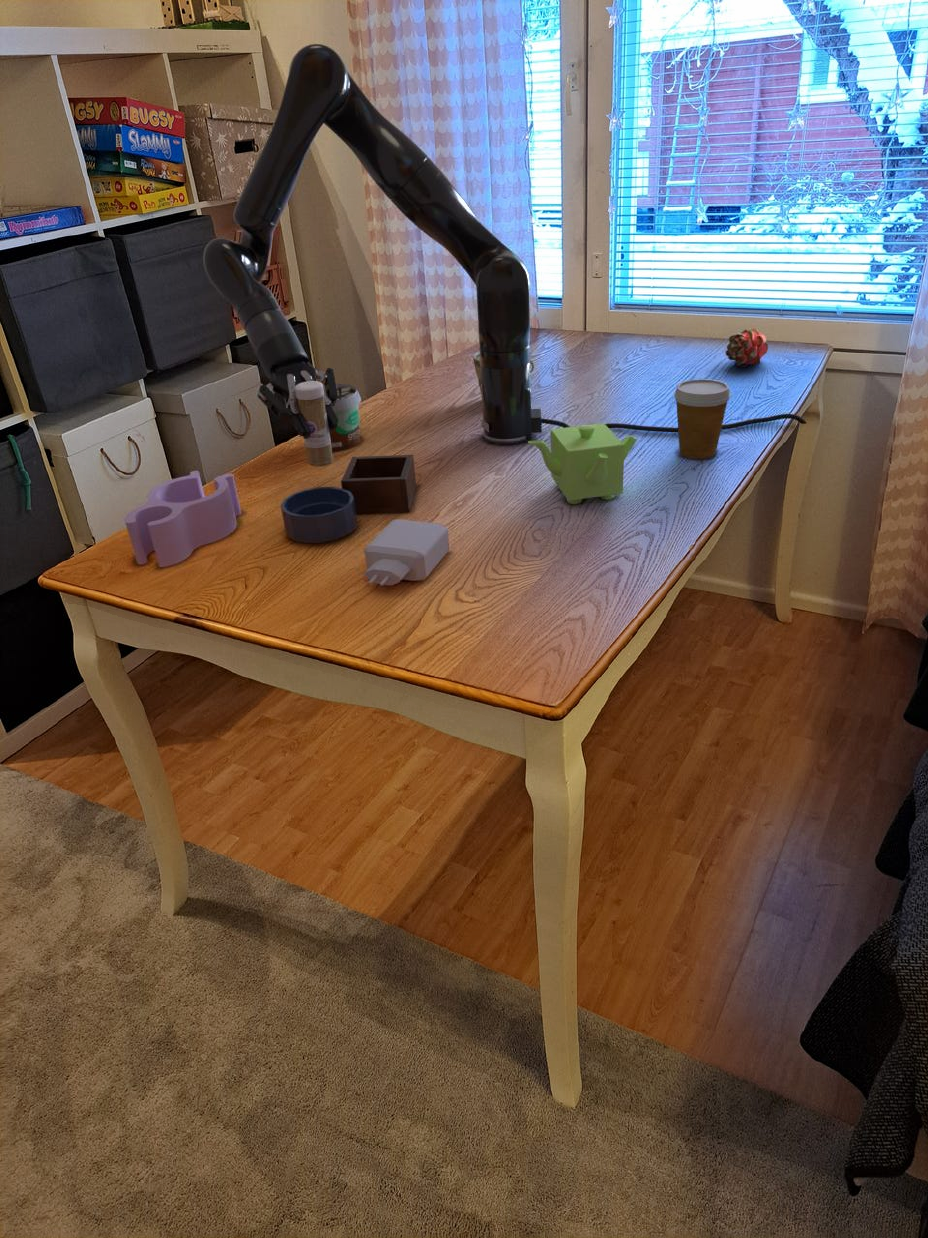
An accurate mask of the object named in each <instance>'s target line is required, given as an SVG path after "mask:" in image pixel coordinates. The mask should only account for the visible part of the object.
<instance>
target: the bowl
mask: <svg viewBox="0 0 928 1238" xmlns="http://www.w3.org/2000/svg"><path fill="white" fill-rule="evenodd" d="M280 510H281V511H280V512H281V516H282V521H283V527H284V532H285V534H286V536H287V537H288V538H289V539H291V540H293V541H295V542H300V543H307V544H322V543H328V542H333V541H336V540H339V539H341V538H343V537H346V536H348V535H349V534H350V533H351V532H353V531H355V529H356V527H357V524H358V516H357V515H358V514H356V508H355V501H354V497H353V495H352V493H351V492H350V491H347V490H345V489H343V488H342V487H337V486H316V487H311V488H305V489H302V490H299V491H296V492H294V493H291V494H290V495H289V496H287V497H285V498H284V499H283V500H282V502H281V504H280Z"/></svg>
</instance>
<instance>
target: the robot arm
mask: <svg viewBox="0 0 928 1238" xmlns="http://www.w3.org/2000/svg"><path fill="white" fill-rule="evenodd" d="M323 125H325V126H326V127H327V128H328V129H329V130H331V131H332V132H333V134H335V135H336V136H337V137H338V138H339V139H340V140H341V141H343V142H344V144H345V145H346V146H347V147H348V148H349V149H350V150H351V152H352V153H353V154H354V155H355V157H356V158H357V159H358V161H359V162H360V164H361V165H362V166H363V168H364V169H365V171H366V172H367V173H368V175H369V177H370V178H371V179H372V180H373V181H374V182H375V184H376V185H377V186H378V188H379V189H380V190H381V191H382V192H383V194H384V195H385V196H386V197H387V199H388V200H390V202H391V203H392V204H393V205H394V206H395V207H396V208H397V209H398V210H399V211H400V212H401V213H402V214H403V215H404V216H405V217H406V219H408V220H409V221H410V222H411V223H412V224H413V225H415V227H417V228H418V230H420V231H422V232H423V233H424V234H425V235H426V236H428V237H429V238H431V239H432V240H433V241H435V242H436V243H437V244H439V245H440V246H441V247H442V248H444V249H445V250H446V251H448V253H449V254H451V256H452V257H453V258H454V259H455V260H456V261H457V262H458V264H459V265H460V267H462V269H463V270H464V271H465V272H466V274H467V275H468V277H469V278H470V279H471V281H472V282H473V283H474V285H475V288H476V305H477V306H476V307H477V323H478V324H477V328H478V349H479V351H478V352H480V370H481V389H482V395H481V403H482V405H481V406H482V407H481V408H482V419H480V422H481V423H480V425H481V428H482V430H483V439H484V440H485V442H488V443H491V444H496V445H514V444H515V445H516V444H520V443H525V442H529V441H533V434H537V433H538V434H539V433H543V425H542V424H546V425H552V426H557V427H560V428H566V427H572V426H571V425H569V424H568V423H566V422H563V421H561V420H555V419H550V418H544V417H542V415H543V414H542V408H532V406H533V405H532V383H531V381H532V380H531V373H530V371H531V363H530V360H531V348H530V346H531V345H530V343H531V341H530V337H531V336H530V335H531V286H530V276H529V273H528V270H527V267H526V265H525V264H524V262H523V260H522V259H521V257H519V255H517V254H516V252H514V251H513V250H511V248H509V247H508V246H507V245H505V244H504V243H503V242H502V241H501V240H500V239H499V238H498V237H496V236H495V234H493V232H491V231H490V230H489V229H487V227H486V226H485V225H484V224H483V223H482V222H481V221H480V220H479V219H478V218H477V217H476V215H475V214H474V212H473V211H472V209H471V208H470V207H469V205H468V204H467V202H466V201H465V199H464V198H463V197H462V195H461V194H460V192H459V191H458V190H457V189H456V187H455V186H454V185H453V183H451V181H450V180H449V179H448V177H447V176H446V175H445V173H443V171H442V170H441V169H440V168H439V166H438V165H437V164H436V163H435V162H434V161H433V160H432V159H431V158H430V157H429V156H428V154H427V153H425V151H423V150H422V148H420V146H418V144H417V143H415V142H414V141H413V140H412V139H411V138H410V137H409V136H408V135H407V134H406V133H404V132H403V131H402V130H401V129H399V128H398V127H397V126H396V125H394V124H393V123H392V122H391V121H389V120H388V119H387V118H386V117H385V116H384V115H383V114H382V113H380V112H379V110H378V109H377V108H376V107H375V105H374V104H373V103H372V102H371V101H370V100H369V98H368V97H367V95H365V93H364V92H363V91H362V89H361V88H360V87H359V85H358V84H357V82H356V81H355V80H354V78H353V77H352V76H351V74H350V73H349V71H348V70H347V68H346V65H345V63H344V61H343V59H342V57H341V56H340V55H339V54H338V53H337V52H336V51H335V50H334V49H333V48H332V47H329V46H328V45H325V44H321V43H311V44H307V45H305V46H303V47H302V48H300V49H299V50H298V51H297V52H296V53H295V54H294V56H293V57H292V59H291V62H290V64H289V68H288V76H287V79H286V84H285V88H284V91H283V96H282V99H281V101H280V105H279V108H278V111H277V114H276V117H275V119H274V122H273V125H272V126H271V130H270V132H269V135H268V137H267V139H266V142H265V144H264V146H263V148H262V150H261V152H260V153H259V156H258V158H257V160H256V162H255V163H254V166H253V168H252V169H251V172H250V174H249V176H248V178H247V180H246V182H245V185H244V186H243V189H242V191H241V194H240V195H239V198H238V200H237V203H235V204H236V205H235V206H234V209H233V213H232V219H233V220H234V222H235V224H236V225H237V226H238V227H239V228H241V229H242V230H241V235H240V240H239V242H236V241H235V240H232V239H229V238H226V237H216V238H212V240H210V241H208V243H207V244H206V245H205V248H204V250H203V254H202V255H203V256H202V260H203V261H202V262H203V268H204V270H205V273H206V275H207V277H208V279H209V281H210V283H211V284H212V285H213V286H214V287H215V289H216V290H217V291H218V293H219V294H220V295H221V296H222V298H223V299H224V300H225V301H226V303H227V304H228V305H229V306H230V307H231V308H232V309H233V311H234V313H235V314H236V316H237V318H238V320H239V322H240V324H241V327H242V328H243V330H244V333H245V334H246V337H247V339H248V342H249V345H250V347H251V349H252V352H253V353H254V355H255V356H256V359H257V360H258V363H259V364H260V366H261V368H262V369H263V372H264V374H265V375H266V378H267V379H268V383H267V384H261V385H259V389H258V392H257V398H258V399H259V400H260V401H261V402H262V404H264V406H266V408H267V409H268V410H269V411H270V412H271V413H272V415H274V417H276V419H277V420H279V421H285V420H289V421H290V422H292V425H293V426H294V428H295V430H296V432H297V434H298V435H299V437H301V438H302V437H303V440H304V439H307V438H309V437H310V435H311V431H310V429H309V427H308V425H307V423H306V421H305V419H304V417H303V415H302V413H300V409H299V403H298V400H297V398H296V393H295V386H296V385H298V384H300V383H303V382H308V381H317V380H319V382H321V383H322V384H323V387H324V392H325V393H324V403H325V409H326V413H327V420H328V426H329V429H330V431H335V430H336V428H337V424H338V418H337V416H336V415H335V412H334V410H333V409H332V407H333V406H334V405H335V403H336V400H337V399H338V392H337V383H336V377H335V372H334V369H332V368H331V367H328V368H326V370H317V369H316V368H315V366H313V365H312V364H311V362H310V360H309V357H308V355H307V353H306V351H305V349H304V348H303V345H302V344H301V342H300V340H299V337H298V336H297V334H296V332H295V331H294V329H293V326H292V325H291V323H290V322H289V320H288V319H287V318H286V316H285V315H284V313H283V310H282V309H281V307H280V305H279V303H278V302H277V300H276V297H275V296H274V294H273V293H272V291H271V290H270V289H269V288H268V287H267V286H265V285H264V284H263V283H261V281H262V279H263V278H264V277H265V274H266V270H267V267H268V263H269V258H270V253H271V248H272V243H273V236H274V232H275V230H276V228H277V226H278V224H279V222H280V220H281V217H282V215H283V213H284V211H285V209H286V207H287V205H288V203H289V201H290V198H291V195H292V193H293V191H294V188H295V185H296V183H297V180H298V177H299V174H300V171H301V169H302V166H303V164H304V161H305V159H306V156H307V153H308V152H309V150H310V147H311V145H312V144H313V141H314V139H315V138H316V137H317V135H318V132H319V131H320V130H321V128H322V126H323ZM275 393H277V394H278V395H279V396H281V397H283V398H284V403H285V405H284V403H282V401H281V400H280V399H279V398H278V397H277V396H276V395H275ZM786 419H787V420H789V419H790V420H794V421H797V422H798V423H799V424H802V425H806V424H807V421H806V420H805V419H804V418H803V417H801V416H800V415H797V414H794V413H780V414H775V415H771V416H765V417H764V416H763V417H757V418H750V419H745V420H741V421H737V422H733V423H723V424H722V428H721V431H725V430H730V429H736V428H740V427H745V426H750V425H754V424H760V423H761V424H762V423H768V422H774V421H778V420H786ZM604 424H605V425H606V426H607V427H608V428H609V429H626V430H634V431H642V432H643V431H644V432H657V433H658V432H660V433H677V434H678V427H674V426H673V427H672V426H671V427H668V426H654V425H653V426H652V425H651V426H650V425H641V424H631V423H620V422H619V423H617V422H609V423H608V422H607V423H604Z"/></svg>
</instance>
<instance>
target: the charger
mask: <svg viewBox="0 0 928 1238" xmlns="http://www.w3.org/2000/svg"><path fill="white" fill-rule="evenodd" d="M363 551H364V556H365V558H364V559H365V565H366V571H364V573H363V576H364V577H365V578H366V579H367V580H369V581H368V583H367V584H369V585H372V584H373V583H374V584H378V585H380V587H383V586H384V585H385V586H393V585H396V584H399V583H400V582H401V581H402V580H405V581H413V582H416V581H417V582H419V581H424V580H426V578H427V577H428V576H429V575H430V574H431V573H432V571H434V569H435V568H436V566H438V564H439V563H440V562H441V561H442V559H443V558H444V557H445V556H446V555H447V553H448V552H450V537H449V529H448V527H447V526H445V525H444V524H442V523H437V522H430V521H429V522H428V521H427V522H426V521H419V520H418V521H417V520H411V519H410V520H409V519H401V518H400V519H393V520H391V521H390V522H389V523H388V524H387V525H386V526H385V527H384V528H383V529H382V530H381V531H380V532H379V533H378V534H377V535H376V536H375V537H374V538H373V539H372V540H371V541H370V542H369V543H368V544H367V545H366V546H365V547H364V549H363Z"/></svg>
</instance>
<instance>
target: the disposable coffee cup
mask: <svg viewBox="0 0 928 1238" xmlns="http://www.w3.org/2000/svg"><path fill="white" fill-rule="evenodd" d="M673 396H674V400H675V402H676V403H675V404H676V416H677V417H676V418H677V428H678V433H677V435H678V449H679V455H681V457H683V458H687V459H691V460H707V459H711V458H714V456H716V455H717V450H718V447H719V446H718V445H719V441H720V437H721V432H722V430H721V428H722V425H724V418H725V415H726V409H727V405H728V402H729V400H730V398H731V397H732V392H731V391H730V386H729V385H728V383H726V382H725V381H721V380H718V379H711V378H694V379H688V380H684V381H682V382H679V383H678V384H677V385H676V388H675V391H674V392H673ZM716 449H717V450H716Z"/></svg>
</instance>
